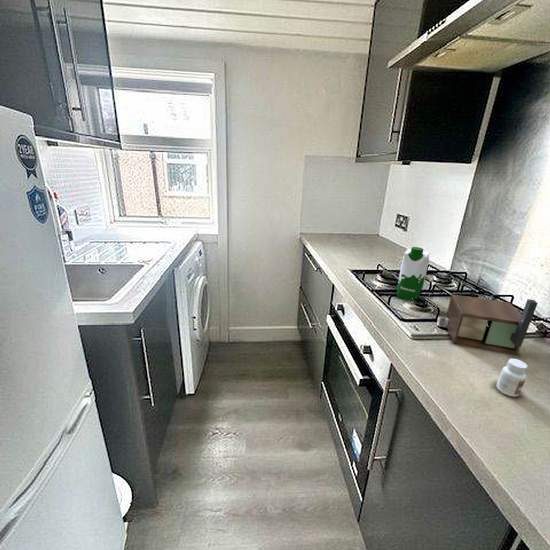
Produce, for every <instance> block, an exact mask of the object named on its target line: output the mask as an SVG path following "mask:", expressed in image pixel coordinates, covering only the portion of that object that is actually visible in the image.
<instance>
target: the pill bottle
mask: <svg viewBox="0 0 550 550" xmlns="http://www.w3.org/2000/svg"><path fill="white" fill-rule="evenodd" d="M527 369H528V364H527V363H525V362H524V361H523V360H520V359H517V358H509V359H508V360H507V362H506V365H505V366H503V367H502V369H501V371H500V375H499V377H498V380H497V383H496V388H497V390H498V391H499V392H500V393H502V394H504V395H506V396H509V397H518V396H520V394H521V391H522V389H523V387H524V384H525V382H526V379H527V374H526V373H527Z"/></svg>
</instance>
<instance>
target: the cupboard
mask: <svg viewBox="0 0 550 550" xmlns="http://www.w3.org/2000/svg"><path fill="white" fill-rule="evenodd" d="M449 299H450V300H449V303H448V307H447V310H446V311H447V312H446V314H445V318H446V317H447V318H448V319H449V324H448V325H446V324H445V326H446V329H447V331H448V334H449V336H450V339H451V341H452V343H453V344H454V345H455V344H456V345H461V346H466V347H471V348H477V349H483V350H487V351H494V352H500V353H505V354H511V355H516V356H517V355H518V354H519V351H520V350H521V349H520V348H521V347H520V346H515V347H514V348H509V347H503V346H497V345H492V344H486V343H485V341H486V338H487V335H488V332H489V329H490V326H491V323H492V321H495V322H501V323H507V324H514V325H518V324H519V321H520V318H521V316H522V313H520V312H519V311H518V310H517V309H516V307H515V306H514V305H513V304H512V303H511V302H509V301H502V300H494V299H487V298H480V297H474V296H466V295H461V294H460V295H459V294H453V293H452V294H451V296H450V298H449ZM487 324H488V326H489V327H487ZM486 327H487V328H486Z"/></svg>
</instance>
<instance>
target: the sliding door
mask: <svg viewBox="0 0 550 550" xmlns="http://www.w3.org/2000/svg"><path fill="white" fill-rule="evenodd" d="M537 306H538V302H537V301H536V300H535V299H529V298H527V299H526V303H525V305H524V307H523V310H522V313H521V315H522V316H521V318H520V321H519V324H518V325H514V324H507V323H501V322H495V321H492V323H491V326H490V329H489V332H488V335H487V338H486V341H485V343H486V344H492V345H497V346H503V347H509V348H514V347H515V346H520V348H521V347H522V345H523V342H524V340H525V337H526V335H527V332H528V329H529V327H530V324H531V323H532V319H533V317H534V314H535V311H536V309H537Z"/></svg>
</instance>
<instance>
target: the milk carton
mask: <svg viewBox="0 0 550 550" xmlns="http://www.w3.org/2000/svg"><path fill="white" fill-rule="evenodd" d="M429 263H430V251H425V250H424V248H423V247H419V246H412V247H411V248H408V249H406V251H405V252H404V254H403V257H402V261H401V265H400V271H399V276H398V281H397V291H396V298H398V299H403V300H407V301H411V302H414V303H416V302H417V300H418V299H417V300H415V299H412V298H414V297H418V298H419V296H420V294H421V292H422V290H423V288H424V285H425V279H426V275H427V271H428V266H429Z"/></svg>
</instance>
